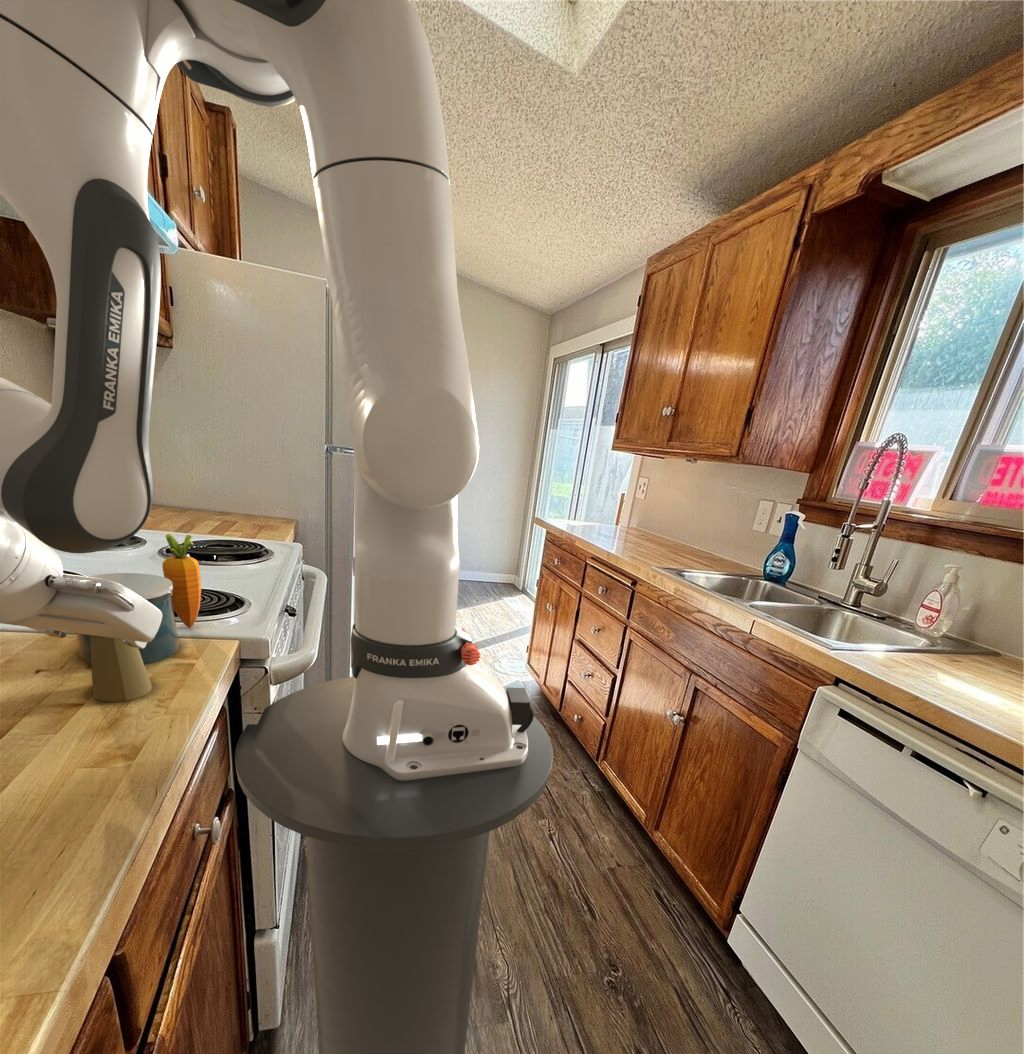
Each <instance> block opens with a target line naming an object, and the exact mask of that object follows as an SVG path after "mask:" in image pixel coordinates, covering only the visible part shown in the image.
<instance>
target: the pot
mask: <svg viewBox="0 0 1024 1054" xmlns="http://www.w3.org/2000/svg"><path fill="white" fill-rule="evenodd" d="M87 577H94V578H102V579H106V580H110V581H114V582H116V583H119V584H121V585H123V586H125V587H127V588H129V589H130V590H132V591H133V592H135V593H137V594H138V595H140V596H141V597H142V598H144V599H145V600H147V601H148V602H150V603H151V604H153V605H154V606H155V607H157V608H158V609H159V610H160V611H161V612H162V620H161V624H160V626H159V629H158V631H157V633H156V635H155V637H154V638H153V640H152V641H150V642H147V644H146V647H145V648H138V649H139V652H140V654H141V657H142V660H143V663H144V665H146V664H152V663H156V662H159V661H162V660H165V659H167V658H169V657H171V656H173V655H174V654H176V653H177V652H178V651H179V649H180V642H179V637H178V629H177V622H176V617H175V616H176V615H175V610H174V608H173V603H172V597H171V596H172V595H173V583H172V581H171V580H169V579H167V578H165V577H164V576H161V575H157V574H149V573H139V572H138V573H137V572H136V573H135V572H118V573H117V572H116V573H103V574H95V575H94V574H93V575H89V576H87ZM75 635H76V637H77V642H78V646H79V650H80V654H81V655H80V656H81V658H82V659H83V660H84V661H85V662H87V663H89V664H91V645H90V635H86V634H78V633H75Z"/></svg>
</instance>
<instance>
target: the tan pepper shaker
mask: <svg viewBox="0 0 1024 1054" xmlns="http://www.w3.org/2000/svg"><path fill="white" fill-rule="evenodd" d="M122 641H123V639H116V638H109V637H101V636H94V635H90V645H91V663H90V664H91V679H92V680H91V681H92V696H93V697H94V698H95V699H96V700H98V701H101V702H108V703H109V702H110V703H112V702H113V703H117V702H126V701H131V700H135V699H139V698H141V697H145V695H147V694H149V693H150V692H151V691H152V689H153V685H152V682H151V680H150V677H149V674H148V671H147V668H146V666H145V664H144V663H143V660H142V657H141V654H140V652H139V649H138V648H135V647H130V646H129V645H127V644H125V643H124V642H122Z"/></svg>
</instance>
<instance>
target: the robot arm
mask: <svg viewBox="0 0 1024 1054" xmlns="http://www.w3.org/2000/svg"><path fill="white" fill-rule="evenodd" d="M429 43H430V42H429V40H428V36H427V33H426V30H425V27H424V25H423V22H422V20H421V18H420V16H419V14H418V13H417V10H416V9H415V8H414V6H413V5H412V4H411V3H410V2H409V0H0V195H1V197H3V198H4V199H5V200H6V202H7V203H8V204H9V205H10V206H11V207H12V209H14V211H15V212H16V213H17V215H18V216H19V217H20V218H21V220H22V221H23V222H24V224H25V225H26V227H27V228H28V230H29V232H31V234H32V236H33V237H34V239H35V240H36V243H38V245H39V247H40V249H41V250H42V253H43V255H44V258H45V259H46V261H47V264H48V267H49V269H50V272H51V275H52V279H53V283H54V289H55V295H56V312H55V313H56V314H55V315H56V316H55V332H54V333H55V334H54V335H55V336H54V352H53V353H54V354H53V355H54V356H53V373H52V375H53V377H52V398H51V403H50V402H49V401H47V400H45V399H43V398H42V397H40V396H38V395H36V394H34V393H33V392H31V391H29V390H27V389H26V388H23V387H22V386H20V385H18V384H16V383H14V382H12V381H10V380H8V379H6V377H3V376H1V375H0V624H2V625H12V626H18V627H26V628H29V629H32V630H34V631H38V632H41V633H43V634H45V635H46V636H48V637H53V638H60V639H64V638H66V636H67V633H71V634H76V633H78V634H86V635H94V636H101V637H109V638H116V639H123V641H122V642H124V643H125V644H127V645H129V646H130V647H135V648H145V647H146V644H147V642H150V641H152V640H153V638H154V637H155V635H156V633H157V631H158V629H159V626H160V624H161V620H162V612H161V611H160V610H159V609H158V608H157V607H155V606H154V605H153V604H151V603H150V602H148V601H147V600H145V599H144V598H142V597H141V596H140V595H138V594H137V593H135V592H133V591H132V590H130V589H129V588H127V587H125V586H123V585H121V584H119V583H116V582H114V581H110V580H106V579H102V578H94V577H88V576H87V575H77V574H71V573H64V566H63V563H62V559H61V558H60V556H59V555H58V553H57V552H56V550H57V551H59V552H63V553H67V554H90V553H96V552H97V553H98V552H101V551H102V552H103V551H106V550H109V549H112V548H115V547H116V546H119V545H121V544H123V543H125V542H126V541H129V539H131V538H133V537H134V536H135V535H136V534H137V533H138V532H139V531H140V530H141V529H142V528H143V527H144V525H145V523H146V522H147V520H148V517H149V516H150V513H151V511H152V507H153V502H154V501H153V499H154V481H153V478H154V477H153V471H152V465H151V456H150V455H151V454H150V423H151V411H152V400H153V399H152V398H153V388H154V376H155V366H156V354H157V343H158V334H159V322H160V321H159V320H160V309H161V287H162V283H161V282H162V265H161V263H162V262H161V254H160V247H159V241H158V237H157V235H156V231H155V229H154V226H153V224H152V222H151V220H150V214H149V205H148V202H149V201H148V173H149V162H150V161H149V160H150V155H151V154H150V153H151V147H152V142H153V137H154V133H155V126H156V121H157V116H158V112H159V111H158V110H159V105H160V100H161V96H162V93H163V89H164V86H165V82H166V80H167V77H168V75H169V73H170V71H171V70H172V69H173V67H174V66H175V65H177V67H179V69H180V70H181V72H182V73H183V74H184V75H185V76H186V77H187V78H188V79H189V80H190V81H193V82H195V83H196V84H197V83H198V84H199V85H204V86H207V87H211V88H213V89H216V90H220V91H223V92H226V93H229V94H231V95H232V96H234V97H236V98H239V99H242V100H243V101H245V102H248V103H251V104H254V105H256V106H257V105H258V106H260V107H265V108H279V107H284V106H287V105H289V104H292V103H293V102H296V104H297V106H298V108H299V111H300V115H301V118H302V122H303V126H304V131H305V136H306V141H307V148H308V154H309V162H310V169H311V176H312V182H313V189H314V197H315V201H316V202H315V203H316V209H317V210H316V211H317V217H318V223H319V228H320V233H321V234H320V235H321V241H322V247H323V249H322V250H323V254H324V261H325V268H326V274H327V280H328V287H329V293H330V301H331V306H332V307H331V308H332V313H333V321H334V328H335V334H336V335H335V336H336V342H337V347H338V348H337V349H338V356H339V363H340V370H341V376H342V382H343V383H342V384H343V390H344V396H345V397H344V398H345V401H346V402H345V404H346V411H347V417H348V418H347V419H348V423H349V431H350V436H351V437H350V438H351V445H352V450H353V484H354V485H353V490H354V491H353V493H354V494H353V496H354V498H353V499H354V501H353V504H354V505H353V507H354V516H353V517H354V518H353V519H354V608H355V609H354V623H353V624H352V629H351V634H350V639H349V641H350V642H349V645H350V647H349V648H350V650H349V653H350V656H349V657H350V668H351V673H352V677H353V676H354V683H353V692H352V699H351V705H350V711H349V715H348V719H347V723H346V726H345V729H344V732H343V736H342V740H343V744H344V746H345V747H346V749H347V750H348V751H349V752H350V753H351V754H352V755H354V756H355V757H357V758H358V759H360V760H362V761H365V762H367V763H370V764H372V765H375V766H378V767H380V768H382V769H383V770H384V771H385V772H386V773H387V774H389V775H390V776H391V777H393V778H394V779H397V780H401V781H407V780H414V779H422V778H430V777H438V776H445V775H453V774H461V773H468V772H476V771H484V770H491V769H499V768H507V767H514V766H519V765H521V764H522V763H523V762H524V761H525V759H526V757H527V754H528V738H527V734H526V731H525V730H526V729H527V728H528V727H529V726H530V724H531V723H532V721H533V717H535V713H534V709H533V707H532V706H531V701H530V697H529V695H528V692H527V690H526V687H507V686H506V688H504V686H503V685H502V683H501V682H500V681H499V680H498V679H497V678H496V677H495V676H493V675H492V674H491V673H489V672H488V671H486V670H485V669H484V668H482V667H481V666H480V665H478V664H477V663H478V662H479V661H480V658H481V654H480V653H481V652H480V651H479V647H478V646H477V645H476V644H475V643H473V638H472V637H471V636H470V635H469V634H468V632H467V630H466V629H465V627H461V629H460V628H459V627H457V626H456V625H457V612H458V611H457V610H458V599H459V598H458V597H459V595H458V594H459V582H460V569H461V568H460V567H461V561H460V560H461V559H460V550H459V529H458V527H459V526H458V496H459V495H460V494H461V493H462V492H463V490H465V488H466V487H467V486H468V484H469V483H470V482H471V479H472V477H473V476H474V473H475V471H476V468H477V465H478V461H479V455H480V454H479V453H480V450H479V449H480V443H479V442H480V441H479V434H478V427H477V420H476V419H477V418H476V411H475V401H474V393H473V385H472V378H471V372H470V365H469V357H468V352H467V346H466V338H465V332H464V328H463V327H464V326H463V323H462V321H463V320H462V315H461V309H460V300H459V294H458V293H459V291H458V279H457V265H456V264H457V263H456V249H455V237H454V236H455V235H454V223H453V208H452V192H451V181H450V180H451V179H450V168H449V157H448V149H447V140H446V132H445V124H444V117H443V111H442V104H441V98H440V92H439V87H438V82H437V77H436V72H435V67H434V62H433V57H432V53H431V49H430V48H431V47H430V44H429ZM184 61H186V62H187V63H188V65H189V66H190V68H189V67H188V65H187V64H186V63H185V62H184Z"/></svg>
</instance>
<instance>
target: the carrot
mask: <svg viewBox="0 0 1024 1054" xmlns="http://www.w3.org/2000/svg"><path fill="white" fill-rule="evenodd" d="M192 537H193V536H192V535H190V534H186V536H185V537H184V539H183V543H182V544H181V545H180V544H179V543H178V541H177V539H176V538H175V537H174V535H172V534H171V533H167V534H165V539H166V542H167V543H168V546H169V551H170V552H171V553H172V554H173V555H171V556H168V557H167V558H166V559H165V560H163V562H162V566H161V567H162V572H163V577H165V578H167V579H169V580H171V581H172V583H173V595H172V596H171V597H172V603H173V610H174V613H175V614H176V615H177V617H178V619H180V621H181V622H182V623H183V625H184V626H186V627H187V628H188V629H191V628H192V627H193V626H194V625H195V622H196V620H197V617H198V616H199V611H200V608H201V600H202V599H201V598H202V583H201V580H202V579H201V570H200V563H199V561H198V560H197V559H196V558H194V557H192V556H189V555H187V552H188V550H189V549H190V547H192V546H194V542H193V541H191V540H192Z"/></svg>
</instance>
